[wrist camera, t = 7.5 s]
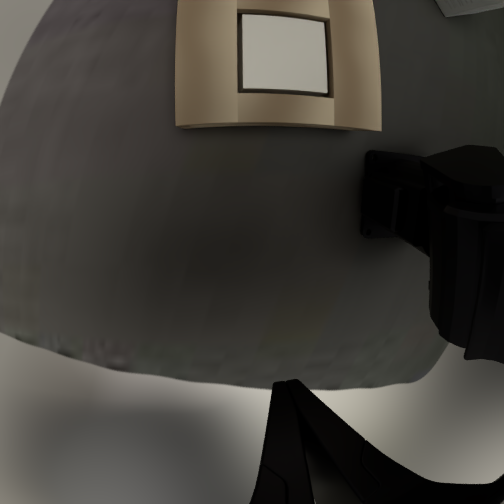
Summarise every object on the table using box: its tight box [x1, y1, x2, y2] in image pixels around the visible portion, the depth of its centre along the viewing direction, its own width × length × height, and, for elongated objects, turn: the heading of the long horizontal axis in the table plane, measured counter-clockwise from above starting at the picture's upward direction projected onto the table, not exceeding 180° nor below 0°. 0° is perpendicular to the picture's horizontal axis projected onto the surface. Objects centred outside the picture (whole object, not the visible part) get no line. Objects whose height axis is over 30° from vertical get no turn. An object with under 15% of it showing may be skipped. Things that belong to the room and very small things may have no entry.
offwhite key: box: [238, 14, 327, 97], centre depth 13 cm, size 4×4×2 cm
